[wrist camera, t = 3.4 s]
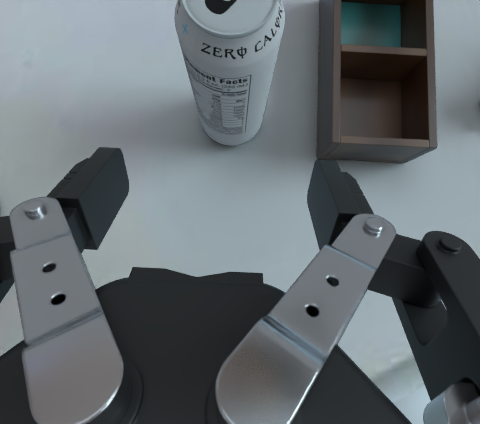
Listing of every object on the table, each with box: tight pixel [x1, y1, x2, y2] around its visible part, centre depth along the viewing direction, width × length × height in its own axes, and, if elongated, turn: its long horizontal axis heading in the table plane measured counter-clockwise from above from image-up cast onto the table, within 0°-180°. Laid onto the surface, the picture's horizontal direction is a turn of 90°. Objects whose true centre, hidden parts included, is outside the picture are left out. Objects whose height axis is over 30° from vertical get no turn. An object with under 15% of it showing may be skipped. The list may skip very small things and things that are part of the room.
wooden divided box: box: [317, 0, 437, 163], centre depth 28 cm, size 9×17×5 cm, turn 177°
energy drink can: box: [175, 0, 285, 145], centre depth 22 cm, size 6×6×15 cm
